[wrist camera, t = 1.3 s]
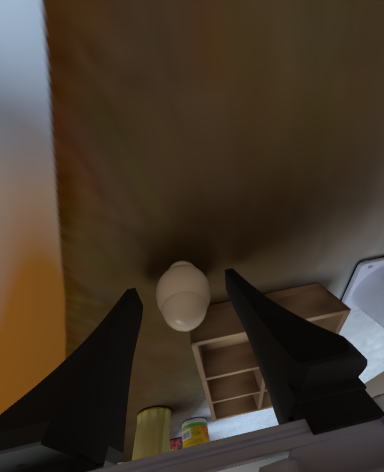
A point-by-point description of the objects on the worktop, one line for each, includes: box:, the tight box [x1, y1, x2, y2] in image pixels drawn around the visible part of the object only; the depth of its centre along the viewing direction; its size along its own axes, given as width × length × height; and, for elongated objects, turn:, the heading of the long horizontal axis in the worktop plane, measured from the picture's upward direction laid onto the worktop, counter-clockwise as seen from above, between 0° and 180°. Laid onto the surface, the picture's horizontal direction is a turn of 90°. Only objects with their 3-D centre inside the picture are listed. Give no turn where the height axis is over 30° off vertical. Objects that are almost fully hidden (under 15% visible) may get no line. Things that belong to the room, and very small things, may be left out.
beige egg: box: [156, 261, 211, 331], centre depth 11 cm, size 4×4×5 cm
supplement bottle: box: [182, 418, 209, 448], centre depth 27 cm, size 5×5×10 cm
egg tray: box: [190, 283, 351, 421], centre depth 19 cm, size 15×22×3 cm
